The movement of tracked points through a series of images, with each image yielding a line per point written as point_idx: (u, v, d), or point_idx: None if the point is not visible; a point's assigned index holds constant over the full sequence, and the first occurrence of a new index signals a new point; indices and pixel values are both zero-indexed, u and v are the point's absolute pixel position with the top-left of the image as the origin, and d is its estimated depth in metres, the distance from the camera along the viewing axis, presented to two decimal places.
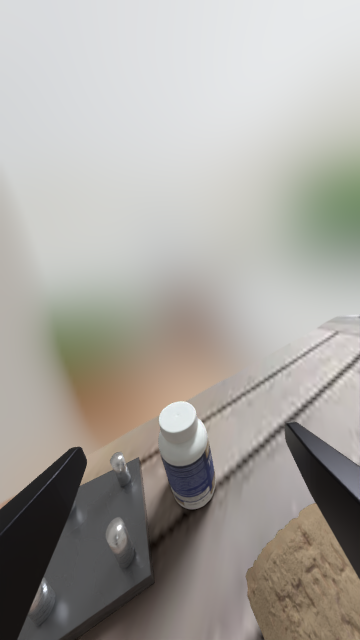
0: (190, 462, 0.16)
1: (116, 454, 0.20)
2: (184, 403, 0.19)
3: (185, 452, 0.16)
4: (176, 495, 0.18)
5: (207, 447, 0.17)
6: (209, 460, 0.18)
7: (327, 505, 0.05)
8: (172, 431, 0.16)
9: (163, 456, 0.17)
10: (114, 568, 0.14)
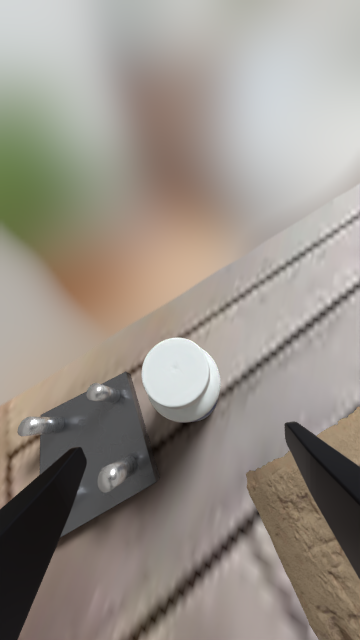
0: (197, 419, 0.11)
1: (93, 386, 0.15)
2: (185, 342, 0.10)
3: (190, 413, 0.10)
4: None
5: (219, 391, 0.12)
6: (218, 395, 0.13)
7: (327, 505, 0.05)
8: (169, 405, 0.09)
9: (156, 410, 0.11)
10: None
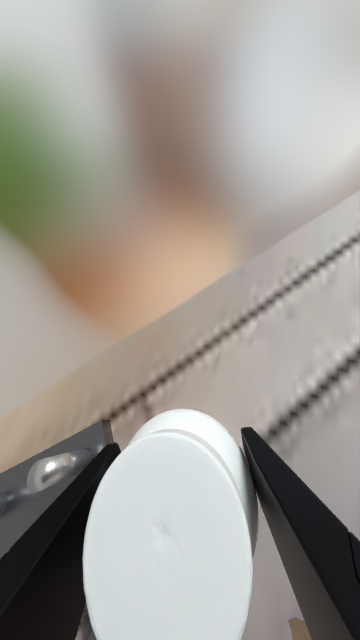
0: None
1: (38, 465, 0.09)
2: (189, 451, 0.05)
3: None
4: None
5: None
6: None
7: (267, 509, 0.05)
8: None
9: None
10: None
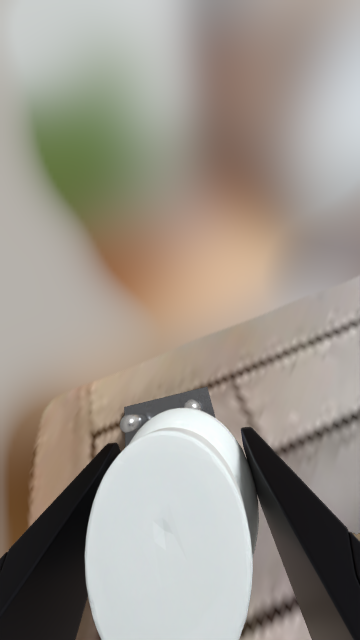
0: None
1: (190, 402, 0.16)
2: (189, 449, 0.05)
3: None
4: None
5: None
6: None
7: (267, 509, 0.05)
8: None
9: None
10: None
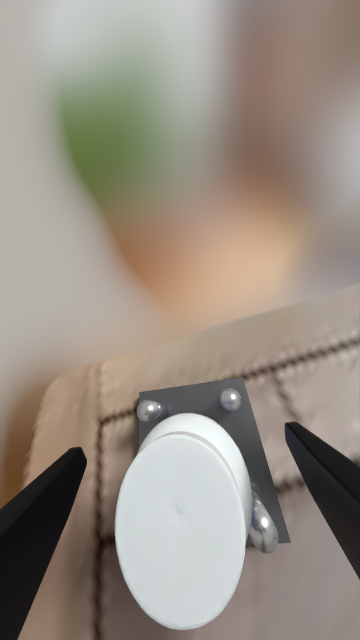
0: None
1: (229, 392, 0.12)
2: (196, 449, 0.06)
3: None
4: None
5: None
6: None
7: (327, 505, 0.05)
8: (166, 623, 0.04)
9: None
10: None
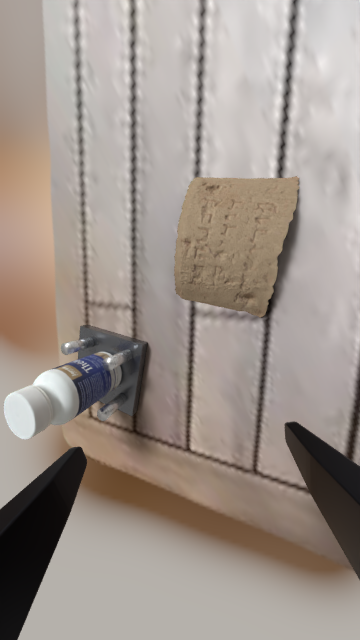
0: (77, 399, 0.16)
1: (62, 348, 0.20)
2: (7, 400, 0.14)
3: (65, 406, 0.15)
4: None
5: (71, 374, 0.16)
6: (86, 368, 0.18)
7: (327, 505, 0.05)
8: (33, 430, 0.13)
9: (67, 421, 0.16)
10: (128, 362, 0.21)
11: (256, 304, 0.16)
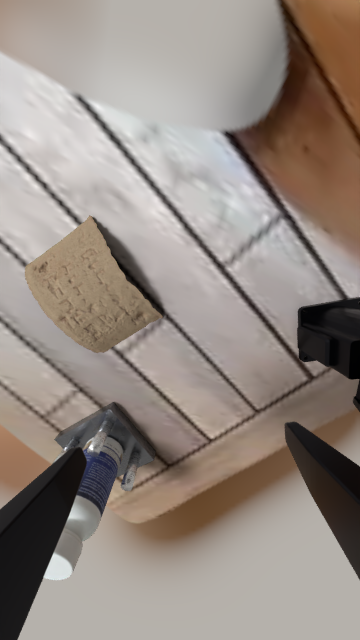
0: (88, 502, 0.16)
1: None
2: None
3: (82, 518, 0.16)
4: (119, 465, 0.22)
5: None
6: None
7: (327, 505, 0.05)
8: (68, 563, 0.14)
9: (98, 523, 0.17)
10: (114, 429, 0.22)
11: (149, 314, 0.19)
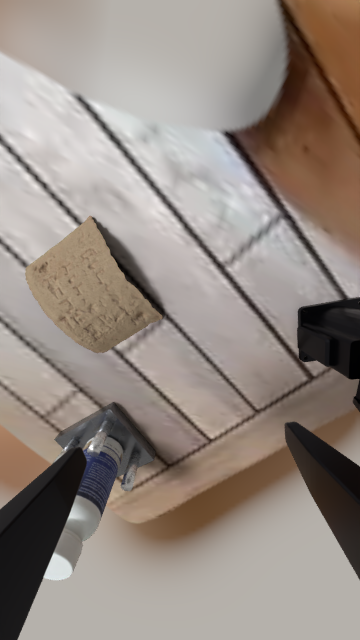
0: (88, 502, 0.16)
1: None
2: None
3: (82, 518, 0.16)
4: (119, 465, 0.22)
5: None
6: None
7: (327, 505, 0.05)
8: (68, 563, 0.14)
9: (98, 523, 0.17)
10: (114, 429, 0.22)
11: (149, 314, 0.19)
